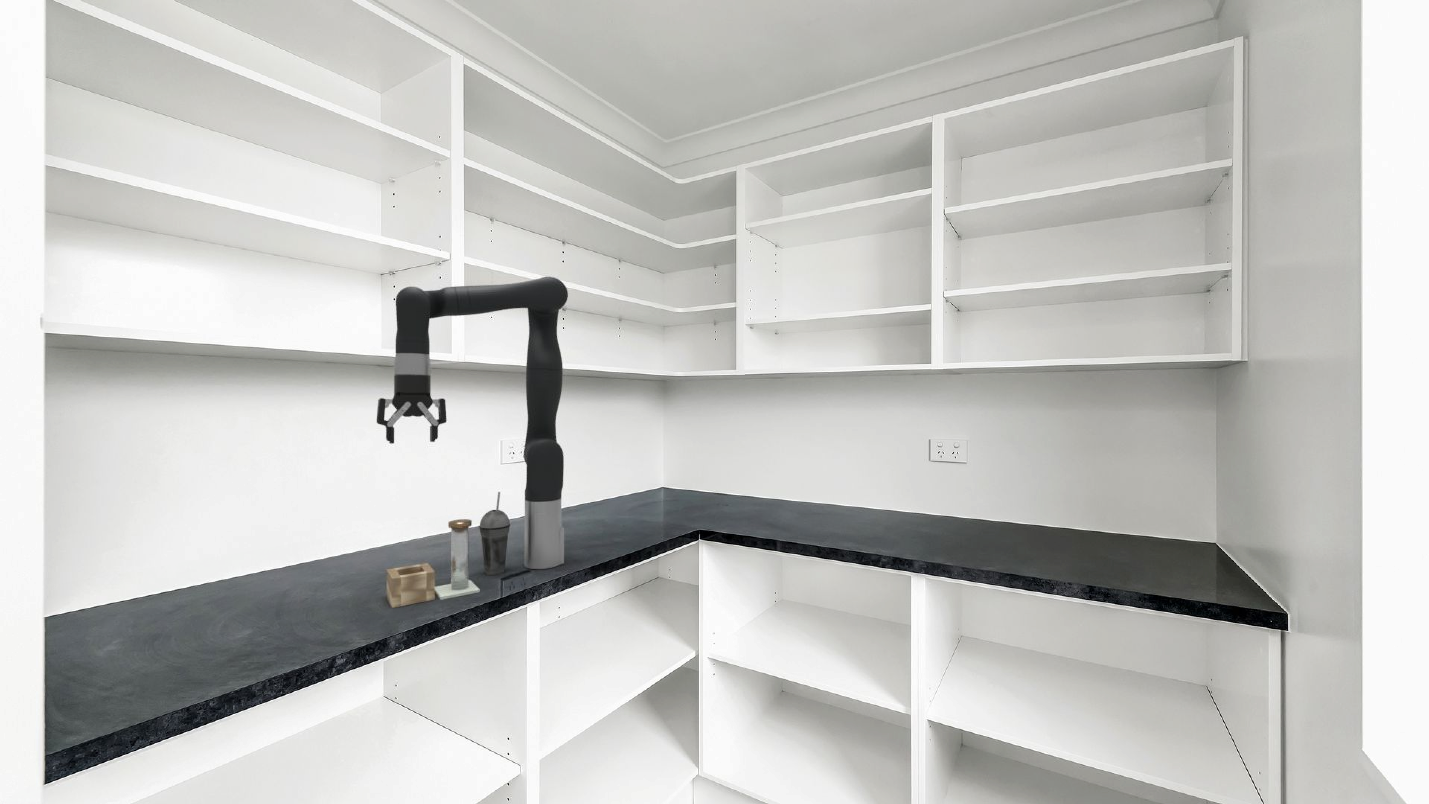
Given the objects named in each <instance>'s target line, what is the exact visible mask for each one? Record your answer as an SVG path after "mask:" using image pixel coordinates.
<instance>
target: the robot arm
mask: <svg viewBox="0 0 1429 804" xmlns="http://www.w3.org/2000/svg"><path fill="white" fill-rule="evenodd" d="M568 299H569V291H568V288H567V286H566V285H565V283H564V282H562V280H560V279H559V278H556V277H552V276H543V277H540V278H536V279H535V278H534V279H531V280H527V281H521V282H520V281H519V282H513V283H504V284H503V283H502V284H489V285H487V284H483V285H482V284H481V285H461V286H460V285H459V286H458V285H457V286H446V287H442V288H440V289H436V290H432V289H431V290H424V289H422V288H420V287H418V286H406V287H404V288H402V289H400V290H399V292H398V293H397V294H396V297H395V312H396V314H395V315H396V316H395V317H396V334H395V357H394V365H393V369H394V371H393V376H394V377H393V378H394V379H393V380H394V381H393V385H394V386H393V393H394V394H393V398H384V397H381V398H379V399H378V400H377V401H378V402H377V409H376V411H377V413H376V424H378V425H380V426H384V427H385V439H386V441H387V442H388V443H389V444H390V445H391V444H395V427H394V425H395V424H396V422H398V421H399V419H400V418H402V417H406V418H407V417H408V418H411V417H416V418H418V417H419V418H420V417H422V416H423V417H424V418H425V419H426V420H427V422H428V423H429V424H430V426H429V442H431V443H435V441H436V440H438V438H439V426H440V425H443V424H445V423H447V420H448V419H447V410H446V409H447V408H446V407H447V406H446V399H445V398H438V399H437V398H435V399H432V397H431V396H432V394H431V392H432V391H431V385H432V384H431V383H432V382H431V377H432V376H431V374H432V367H431V365H432V364H431V358H430V348H431V347H430V346H431V345H430V335H429V334H430V333H429V328H430V319H436V318H442V317H458V316H460V317H461V316H470V315H471V316H472V315H480V314H487V313H488V314H489V313H494V312H500V311H505V310H515V309H527V316H528V317H527V318H528V341H527V351H526V353H527V354H526V365H525V366H526V369H525V370H526V371H525V372H526V373H525V390H526V392H525V393H526V394H525V396H526V410H527V427H526V434H525V435H526V436H525V443H524V449H523V458H524V462H525V464H526V480H525V481H526V482H525V489H524V558H523V559H524V567H525V568H527V569H532V570H544V569H545V570H546V569H551V568H552V569H553V568H555V567H558V566H560V565H563V564H565V528H564V526H562V492H563V488H564V472H565V471H564V467H565V464H564V451H563V449H562V447H561V445H560V444H559V443H558V442H557V427H556V424H557V422H556V421H557V414H558V410H559V404H560V402H561V401H560V400H561V396H562V390H563V374H564V373H563V368H564V367H563V358H562V353H561V349H560V344H559V341H558V321H559V320H558V318H559V312H560V310H561V309H562V308H563V307H564V306H565V305H566V303H567V301H568ZM390 405H392V406H393V407H394V408H395V410H396V411H395V412H393V413H392V415H391V416H390V418H388V419H387V420H386V419H385V415H386V409H387V408H389V406H390ZM432 405H434V406H435V408H437V411H438V418H435V416H434V415H433V413H431V411H430V410H429V409H430V408H431V406H432Z"/></svg>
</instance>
